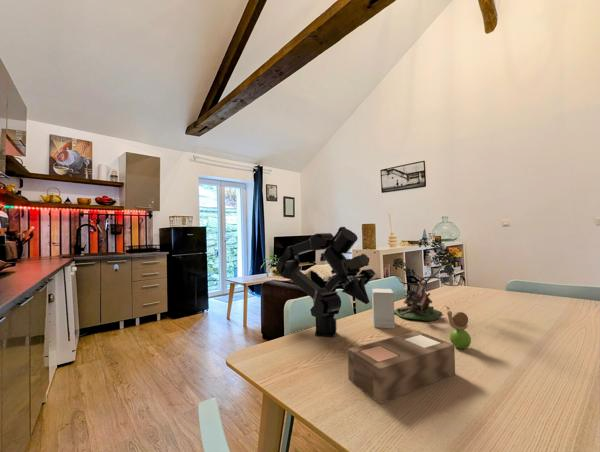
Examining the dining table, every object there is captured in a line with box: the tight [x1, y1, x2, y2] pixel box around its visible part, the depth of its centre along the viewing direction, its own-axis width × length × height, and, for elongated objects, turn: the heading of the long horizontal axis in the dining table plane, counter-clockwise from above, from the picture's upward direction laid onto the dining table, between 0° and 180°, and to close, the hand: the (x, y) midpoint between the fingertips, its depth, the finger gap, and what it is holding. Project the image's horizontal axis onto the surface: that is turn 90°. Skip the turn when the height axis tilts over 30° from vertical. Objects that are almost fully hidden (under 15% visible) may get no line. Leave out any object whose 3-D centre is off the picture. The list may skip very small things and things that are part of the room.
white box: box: [404, 335, 441, 349], centre depth 69 cm, size 6×6×7 cm
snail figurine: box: [446, 306, 472, 349], centre depth 81 cm, size 5×6×12 cm
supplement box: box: [371, 288, 396, 329], centre depth 102 cm, size 7×7×13 cm
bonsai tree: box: [392, 237, 460, 322], centre depth 112 cm, size 35×24×32 cm
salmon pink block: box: [360, 346, 399, 363], centre depth 62 cm, size 6×6×7 cm
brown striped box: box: [347, 330, 456, 404], centre depth 66 cm, size 24×11×7 cm, turn 117°
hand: (367, 303), depth 81 cm, fingers closed
